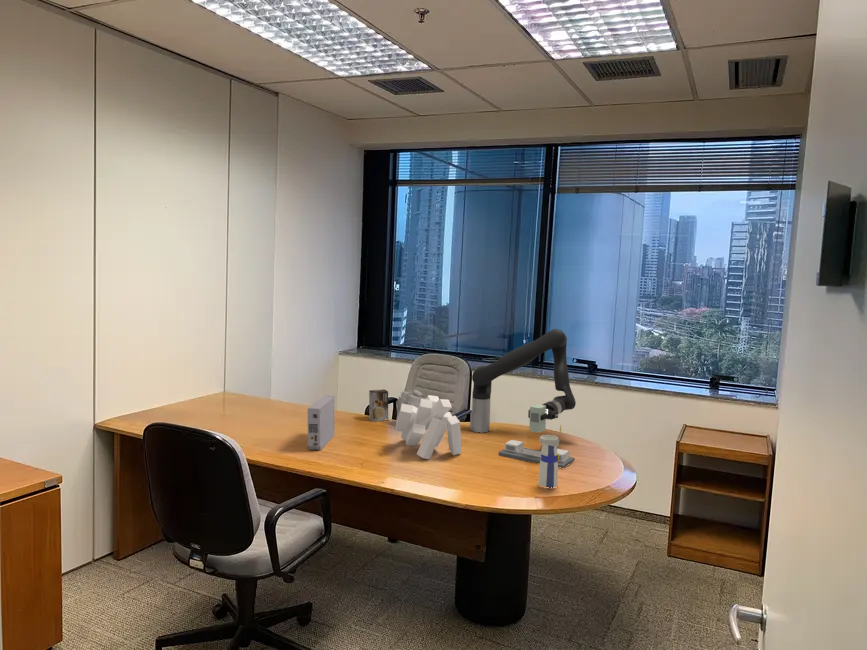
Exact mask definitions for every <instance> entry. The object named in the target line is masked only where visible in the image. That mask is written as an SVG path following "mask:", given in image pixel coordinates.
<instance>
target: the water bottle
mask: <svg viewBox="0 0 867 650" xmlns="http://www.w3.org/2000/svg"><path fill="white" fill-rule="evenodd" d="M559 433H560V434H561V433H562V425H561V424H560V425H559ZM538 440H539V443H541V450H539V451H540V453H541V461H540V464H539V472H538V482H537V483H538V484H539V485H540V486H543V487H549V488H551V487H552V488H553V487H556V486H559V480H558V479H559V468H558V461H559V453H558V451H557V449H558V448H559V445H560V441H561V440H560V439H559V437H558V436H557V435H554V434H542V435H540V436H539V439H538ZM538 484H537V485H538ZM540 486H539V487H540Z"/></svg>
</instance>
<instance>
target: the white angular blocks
mask: <svg viewBox="0 0 867 650" xmlns="http://www.w3.org/2000/svg"><path fill="white" fill-rule="evenodd" d="M420 399H421V400H420V403H419V407H418V408H417V407H415V406H413V405H407V404H402V405H401V408H400V412H399V415H398V419H397V418H396V424H395V429H394V430H395V432H401V435H400V436H401V437H400V439H402V440H403V441H405V446H411V447H412V446H413V447H418V445H419V443H420V442H421V443H420V445H419V448H418V450H417V452H416V455H417V456H418V457H421V458H422V459H426V460H431V458H432V455H433V453H434V450H435V448H438V446H439V444H440V442H441V441H442V439H443V437H444V435H445V433H446V432H447V441H448V442H447V445H448V450H449V451H450V453H451V455H454V456H456V455H459V454H460V455H461V454H462V451H463V450H462V437H461V436H462V434H461V421H460V420H459V419H458V417H457V416H456V415H452V413H451V412H450V410H452V408H453V406H452V404H451V401H450V399H446V398H445V399H444V398H442V399H441V398H440V399H439V396H437V395H431V394H430V395H427V396H426V399H425V398H420Z"/></svg>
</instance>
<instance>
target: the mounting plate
mask: <svg viewBox="0 0 867 650" xmlns="http://www.w3.org/2000/svg"><path fill="white" fill-rule="evenodd" d="M524 448H525V447H523V449H521V450H520V451H518V452H513V451H508V450H505V448H503V449H504V451H507V452H512V453H516V454H521V455H526V456H531V457H536V458H541V453H540V452H539V451H540V450H538V451H534V450H535V449H533V450H529V449H530V448H528V449H524ZM569 459H570V458H568V459H566V460H565V461H563V462H562V461H558V462H560V463H565V462H567V461H568V460H569Z"/></svg>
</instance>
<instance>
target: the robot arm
mask: <svg viewBox="0 0 867 650" xmlns="http://www.w3.org/2000/svg"><path fill="white" fill-rule="evenodd" d="M567 341H568V339H567V335H566V334H565V333H564V332H563V330H561V329H557V328H555V329H552V330H549V331H547V332H546V333H544V334H542V335H541V336H540V337H538V338H536V339H535V340H533V341H531V342H528V343H526V344H524V345H521V346H519V347H517V348H514V349H513V350H511V351H509V352H508V353H506V354H504V355H503V356H502V357H500V358H499V359H497V360H495V361H494V362H493V363H490V364H488V365H481V366H477V367H476V368H475V370H474V371H473V373H472V375H471V379H472V382H473V388H472V401H471V403H472V404H471V411H470V415H469V417H470V418H469V419H470V420H469V422H470V423H469V431H472V432H474V433H478V432H480V434H481V433H484V432H486V433H489V432H491V431H490V428H491V426H490V425H491V397H492V396H491V394H492V383H493V382H492V381H494V380H495V379H498V378H499V377H501V376H503V375H505V374H508V373H510V372H513V371H515V370H517V369H520V368H522V367H524V366H526V365H527V364H529V363H531V362H532V361H533V360H535V359H536V358H537V357H538V356H540V355H541V354H543V353H544V352H548V351H550V350H551V353H552V355H553V379H554V389H555V390H556V391H558V392H563V393H564V395H557V396H555V397H553V399H552V400H548V401H546V402H544V403H542V404H541V405H545V406H546V413H545V414H543V415H541V417H540V420H544V419H546V420H550V421H551V420H555V419H558V418H559V414H560V415H561V414H562V413H563V412H564V411H569V410H573V409H574V408H575V407H576V399H575V395H574V394H573V391H572V388H571V385H570V376H569V370H568V369H569V368H568V364H567V363H568V362H567V361H568V360H567V345H568V344H567ZM527 415H528V419H530V408H529V410H528V414H527ZM488 431H489V432H488Z"/></svg>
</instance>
